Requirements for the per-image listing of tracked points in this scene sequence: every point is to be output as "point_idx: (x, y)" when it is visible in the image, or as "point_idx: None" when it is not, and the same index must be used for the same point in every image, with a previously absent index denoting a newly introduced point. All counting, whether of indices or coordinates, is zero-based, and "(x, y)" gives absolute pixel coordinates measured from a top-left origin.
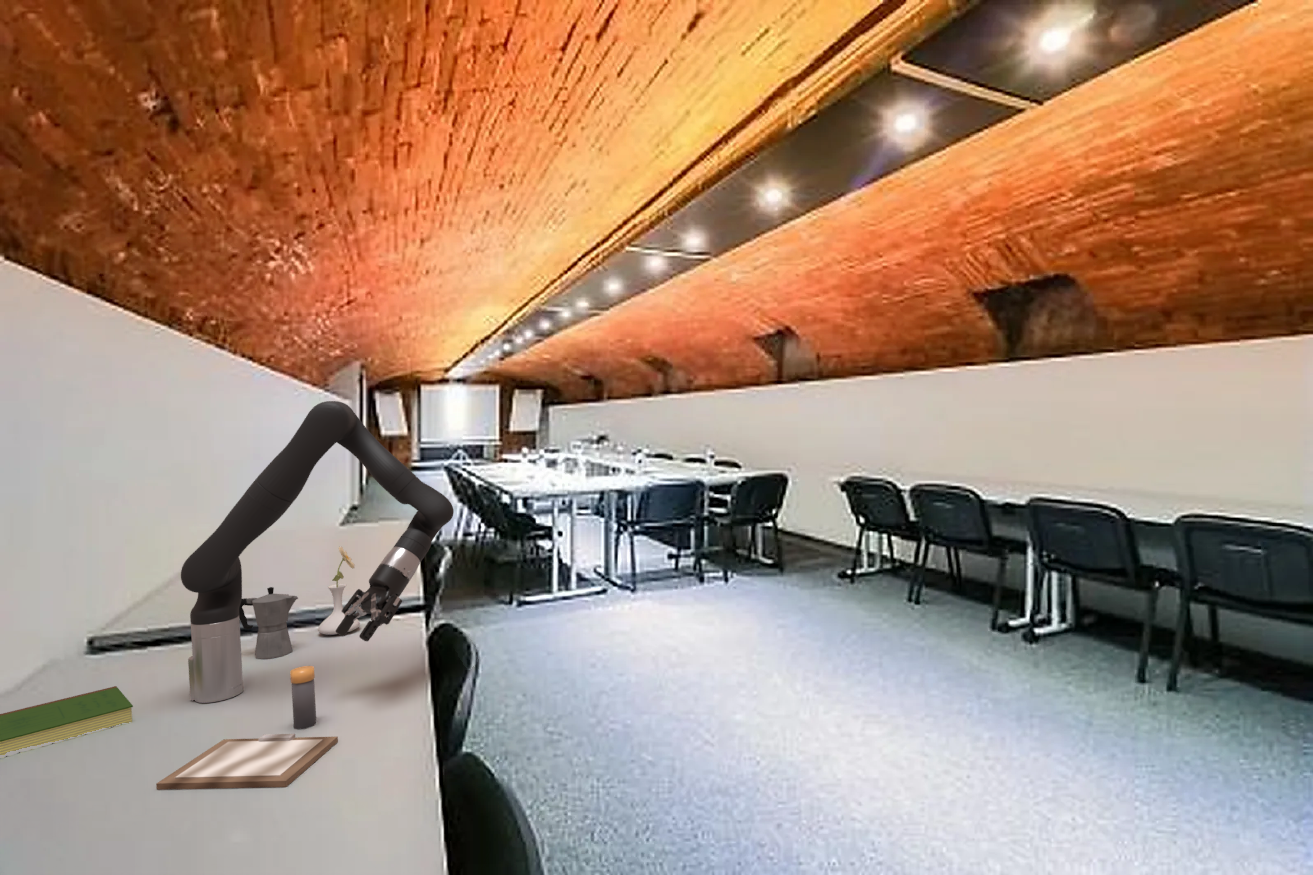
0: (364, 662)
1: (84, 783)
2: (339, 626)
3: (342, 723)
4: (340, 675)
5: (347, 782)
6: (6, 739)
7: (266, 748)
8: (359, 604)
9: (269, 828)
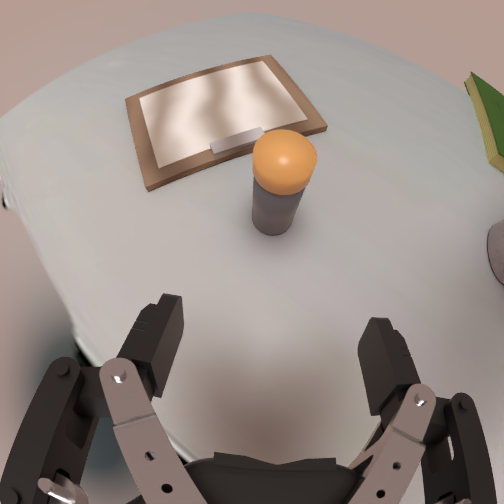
0: None
1: (356, 59)
2: (387, 334)
3: (203, 246)
4: None
5: (69, 138)
6: (476, 85)
7: (223, 121)
8: (368, 471)
9: (96, 77)
